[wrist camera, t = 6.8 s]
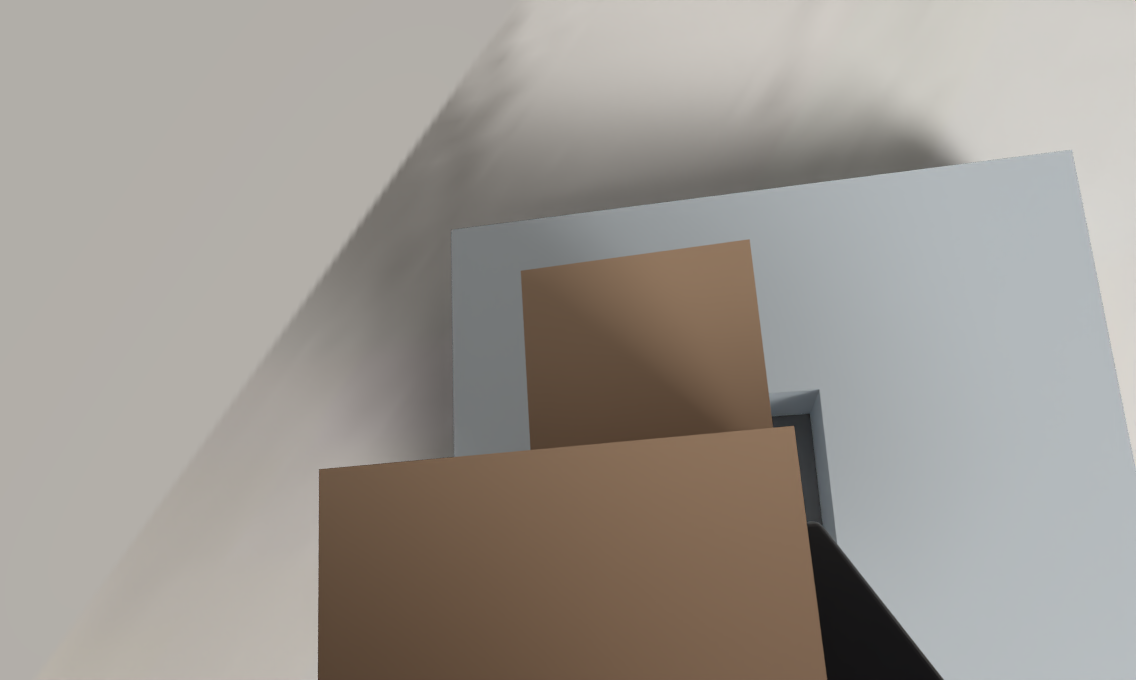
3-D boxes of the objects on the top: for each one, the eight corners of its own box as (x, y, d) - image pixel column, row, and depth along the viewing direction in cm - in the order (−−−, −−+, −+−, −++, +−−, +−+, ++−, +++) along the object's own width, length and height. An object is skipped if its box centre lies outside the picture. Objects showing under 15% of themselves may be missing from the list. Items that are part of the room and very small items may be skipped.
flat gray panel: (1163, 1026, 17) (1273, 1164, 14) (518, 980, 20) (461, 1084, 17) (1018, 216, 22) (1072, 149, 18) (499, 276, 24) (451, 229, 21)
